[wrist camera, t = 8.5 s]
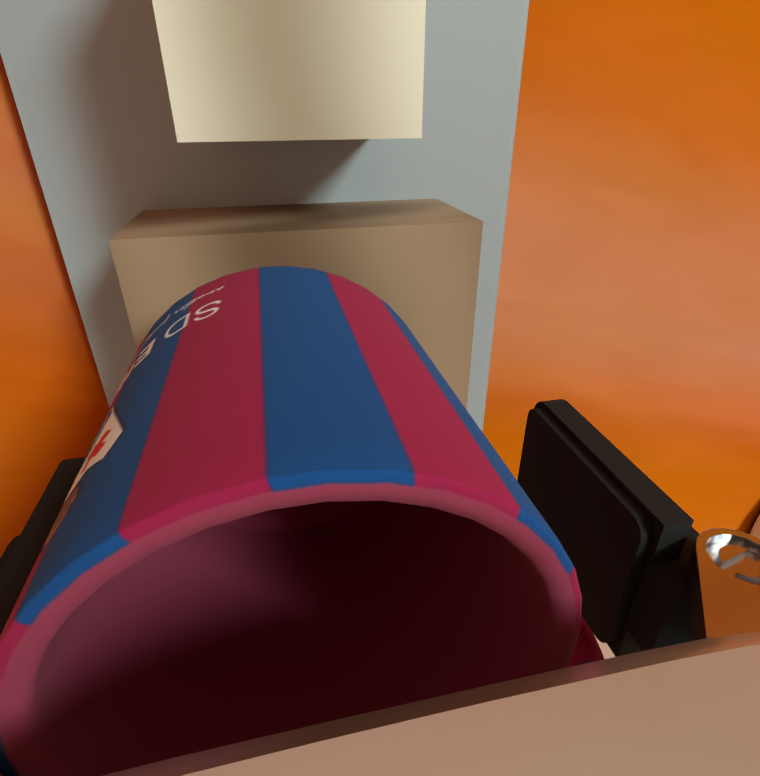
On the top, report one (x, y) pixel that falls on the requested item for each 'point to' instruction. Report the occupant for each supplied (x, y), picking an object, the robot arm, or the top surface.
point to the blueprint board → (247, 146)
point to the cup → (276, 541)
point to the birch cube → (293, 68)
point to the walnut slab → (318, 261)
